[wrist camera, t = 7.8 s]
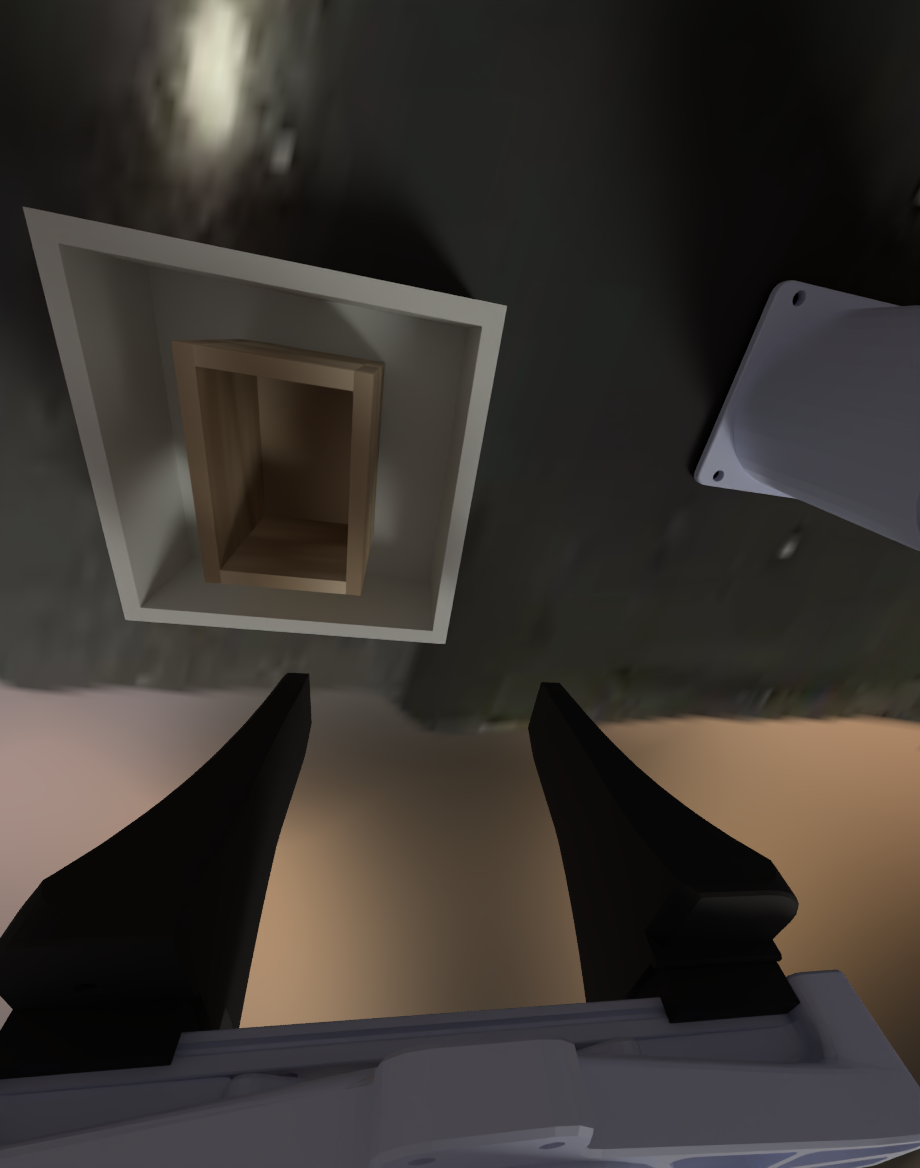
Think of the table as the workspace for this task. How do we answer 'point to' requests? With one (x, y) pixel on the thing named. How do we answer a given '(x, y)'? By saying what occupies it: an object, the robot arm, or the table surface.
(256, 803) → the robot arm
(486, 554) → the table surface
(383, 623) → the storage crate
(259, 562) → the wood crate
